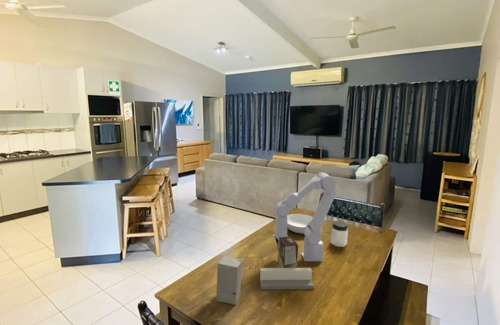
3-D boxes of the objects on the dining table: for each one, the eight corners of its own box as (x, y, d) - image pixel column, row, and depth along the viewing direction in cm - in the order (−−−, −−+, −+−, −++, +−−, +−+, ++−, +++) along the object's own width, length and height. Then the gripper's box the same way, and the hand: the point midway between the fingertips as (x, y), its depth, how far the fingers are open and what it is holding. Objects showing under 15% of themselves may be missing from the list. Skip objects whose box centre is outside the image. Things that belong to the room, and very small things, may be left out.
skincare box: (216, 301, 104) (215, 264, 101) (222, 290, 111) (222, 254, 108) (236, 305, 102) (236, 267, 99) (242, 294, 109) (242, 258, 106)
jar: (327, 241, 155) (329, 221, 153) (338, 238, 158) (340, 219, 156) (338, 248, 147) (340, 227, 145) (350, 245, 150) (351, 225, 148)
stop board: (310, 280, 118) (310, 267, 117) (313, 289, 112) (314, 276, 111) (260, 280, 118) (260, 268, 116) (261, 289, 112) (261, 276, 111)
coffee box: (297, 278, 119) (298, 245, 117) (283, 280, 118) (285, 246, 115) (289, 267, 128) (290, 235, 125) (276, 268, 127) (277, 237, 124)
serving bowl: (278, 231, 167) (278, 221, 166) (292, 221, 184) (293, 211, 183) (309, 240, 155) (310, 229, 154) (322, 228, 172) (323, 218, 171)
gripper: (271, 221, 140) (271, 245, 142) (275, 233, 125) (274, 260, 128) (285, 220, 140) (284, 245, 142) (290, 233, 126) (289, 259, 128)
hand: (280, 252), depth 135 cm, fingers closed
